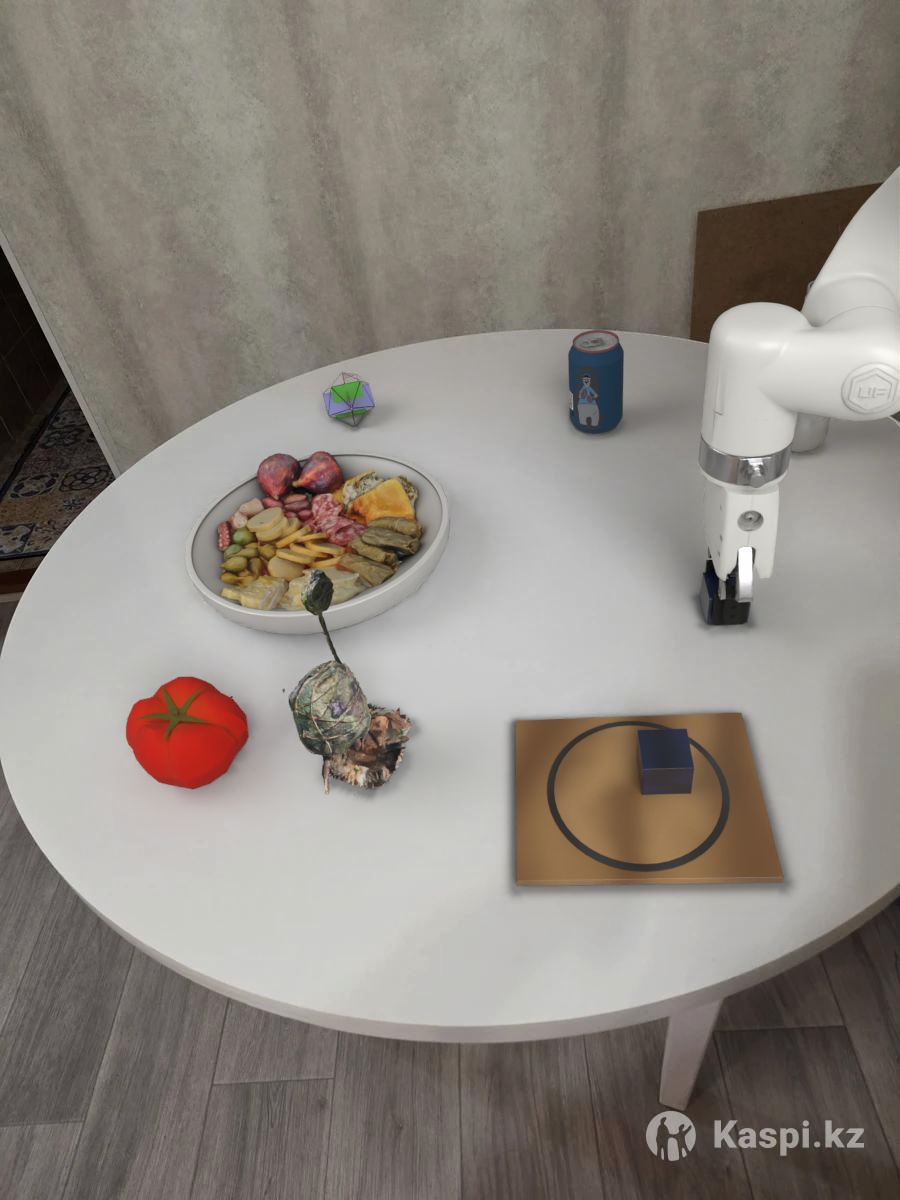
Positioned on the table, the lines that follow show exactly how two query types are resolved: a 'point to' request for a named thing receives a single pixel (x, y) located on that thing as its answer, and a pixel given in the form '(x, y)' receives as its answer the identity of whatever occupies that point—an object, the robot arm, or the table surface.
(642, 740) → the dark blue cube
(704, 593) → the dark blue block
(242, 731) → the tomato
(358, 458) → the bowl
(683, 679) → the table surface
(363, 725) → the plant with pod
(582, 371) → the soda can
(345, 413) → the geometric puzzle
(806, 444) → the plastic bottle
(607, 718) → the board
